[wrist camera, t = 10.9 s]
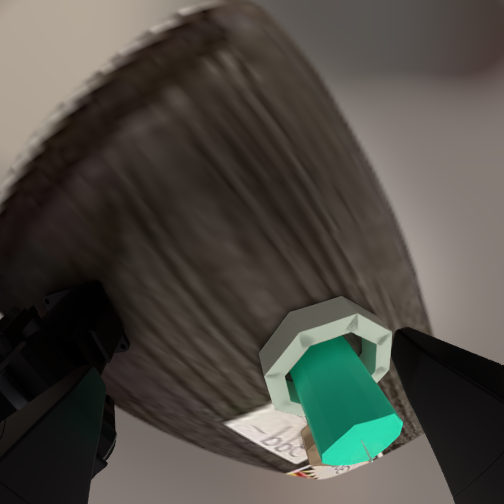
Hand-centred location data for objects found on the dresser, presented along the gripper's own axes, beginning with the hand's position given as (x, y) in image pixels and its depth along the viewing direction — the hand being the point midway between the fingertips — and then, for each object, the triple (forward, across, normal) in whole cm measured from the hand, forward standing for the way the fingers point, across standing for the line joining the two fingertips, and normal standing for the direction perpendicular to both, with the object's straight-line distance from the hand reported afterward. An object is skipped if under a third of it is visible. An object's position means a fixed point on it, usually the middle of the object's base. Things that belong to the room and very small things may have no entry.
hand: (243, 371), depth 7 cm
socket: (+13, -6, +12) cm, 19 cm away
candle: (+13, -6, +12) cm, 19 cm away
